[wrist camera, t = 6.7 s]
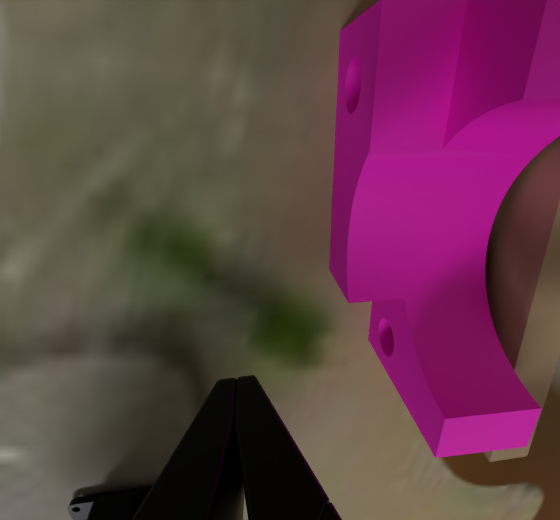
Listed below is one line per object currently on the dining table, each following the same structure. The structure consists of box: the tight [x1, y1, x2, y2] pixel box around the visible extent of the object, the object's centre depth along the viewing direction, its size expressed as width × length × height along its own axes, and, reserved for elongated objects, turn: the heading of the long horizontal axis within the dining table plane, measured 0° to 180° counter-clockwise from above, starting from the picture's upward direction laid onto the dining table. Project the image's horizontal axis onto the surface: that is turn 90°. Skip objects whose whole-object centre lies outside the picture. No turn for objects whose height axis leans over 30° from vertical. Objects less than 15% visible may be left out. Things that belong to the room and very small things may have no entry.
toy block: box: [329, 0, 560, 458], centre depth 13 cm, size 15×6×8 cm, turn 1°
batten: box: [483, 136, 560, 462], centre depth 15 cm, size 22×2×5 cm, turn 4°
